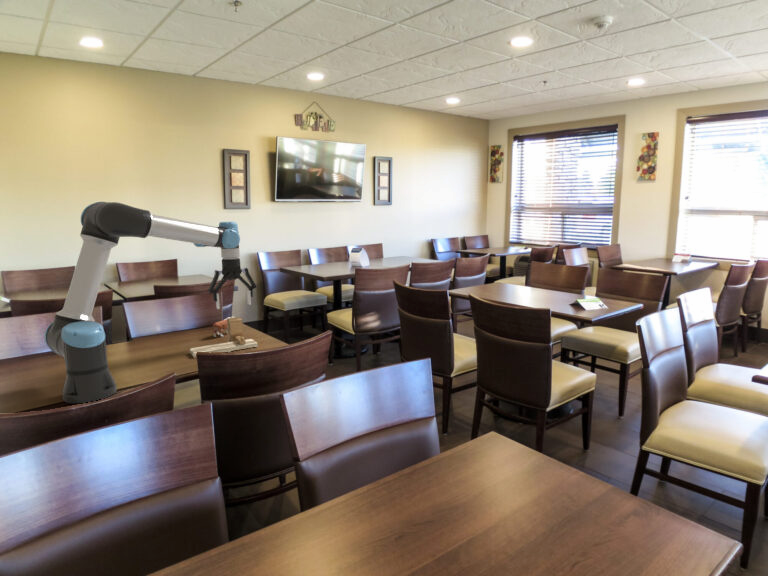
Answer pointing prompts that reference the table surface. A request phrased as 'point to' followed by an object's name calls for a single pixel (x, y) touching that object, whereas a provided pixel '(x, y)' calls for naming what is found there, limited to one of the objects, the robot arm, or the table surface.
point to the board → (224, 347)
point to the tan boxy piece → (235, 330)
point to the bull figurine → (220, 327)
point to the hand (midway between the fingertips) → (234, 306)
